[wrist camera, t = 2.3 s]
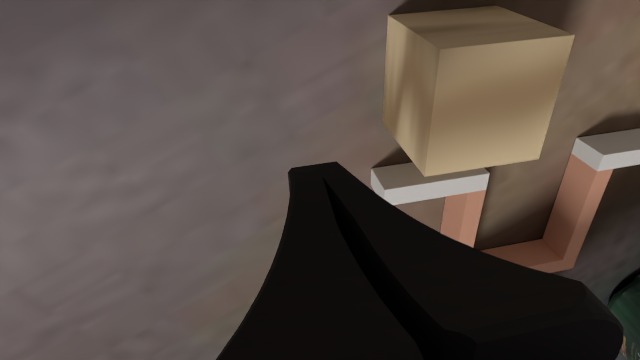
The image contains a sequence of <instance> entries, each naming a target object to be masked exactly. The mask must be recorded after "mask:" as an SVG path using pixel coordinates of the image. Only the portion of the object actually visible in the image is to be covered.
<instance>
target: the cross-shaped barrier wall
mask: <svg viewBox="0 0 640 360" xmlns="http://www.w3.org/2000/svg"><path fill="white" fill-rule="evenodd" d="M639 164H640V128H639V129H632V130H625V131H619V132H612V133H605V134H599V135H592V136H585V137H578V138H576V141H575V144H574V147H573V150H572V153H571V156H570V159H569V162H568V165H567V167H566V170H565V173H564V176H563V179H562V182H561V185H560V188H559V191H558V194H557V197H556V200H555V203H554V206H553V209H552V212H551V215H550V218H549V221H548V224H547V227H546V230H545V233H544V236H543V238H542V239H539V240H533V241H528V242H523V243H518V244H512V245H507V246H502V247H496V248H491V249H486V250H481V251H482V252H485V253H488V254H490V255H493V256H496V257H498V258H501V259H504V260H507V261H510V262H513V263H516V264H519V265H522V266H525V267H528V268H532V269H535V270H539V271H543V272H547V273H553V272H557V271H562V270H567V269H572V268H573V266H574V264H575V261H576V259H577V256H578V254H579V251H580V249H581V247H582V244H583V242H584V239H585V237H586V234H587V232H588V230H589V227H590V225H591V222H592V220H593V217H594V215H595V213H596V210H597V208H598V205H599V203H600V200H601V198H602V195H603V193H604V191H605V188H606V186H607V183H608V181H609V178H610V176H611V174H612V171H613V169H615V168H621V167H627V166H633V165H639ZM489 175H490V173H489V172H488V171H487V170H486V169H485V168H478V169H472V170H465V171H459V172H452V173H446V174H440V175H433V176H427V177H424V176H423V174H422V173H421V172H420V170H419V169H418V168H417V167H416V165H415V164H414V163H413V162H411V163H404V164H398V165H391V166H384V167H378V168H371V186H372V188H373V189H374V191H375V193H376V194H378V195H379V196H380V197H382V198H383V199H385V200H386V201H387V202H389V203H390V204H392V205H397V204H403V203H409V202H415V201H421V200H427V199H433V198H439V197H446V199H445V205H444V212H443V218H442V224H441V231H440V233H441V234H443V235H446V236H448V237H450V238H452V239H454V240H456V241H459V242H461V243H463V244H466V245H468V246H470V247H474V242H475V238H476V233H477V229H478V224H479V220H480V215H481V211H482V206H483V202H484V197H485V193H486V188H487V184H488V179H489Z"/></svg>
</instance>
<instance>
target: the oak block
mask: <svg viewBox="0 0 640 360" xmlns="http://www.w3.org/2000/svg"><path fill="white" fill-rule="evenodd" d="M574 37H575V35H574V34H571V33H569V32H566V31H563V30H561V29H558V28H555V27H553V26H550V25H547V24H545V23H542V22H539V21H537V20H534V19H531V18H529V17H526V16H523V15H521V14H518V13H515V12H512V11H510V10H507V9H504V8H502V7H499V6H485V7H474V8H463V9H452V10H441V11H430V12H419V13H408V14H397V15H388V28H387V47H386V66H385V86H384V105H383V124H384V125H385V127H386V128H387V129H388V131H389V132H390V133H391V134H392V136H393V137H394V138H395V140H396V141H397V142H398V143H399V145H400V146H401V147H402V149H403V150H404V151H405V152H406V154H407V155H408V156H409V158H410V159H411V160H412V161H413V163H414V164H415V165H416V167H417V168H418V169H419V170H420V172H421V173H422V174H423V176H424V177H427V176H433V175H440V174H446V173H452V172H459V171H465V170H472V169H478V168H484V167H491V166H497V165H504V164H510V163H516V162H523V161H529V160H536V159H539V156H540V153H541V149H542V146H543V143H544V139H545V136H546V132H547V129H548V125H549V122H550V119H551V115H552V112H553V108H554V105H555V102H556V98H557V95H558V91H559V88H560V85H561V81H562V78H563V74H564V71H565V68H566V64H567V61H568V57H569V54H570V51H571V47H572V44H573V40H574Z"/></svg>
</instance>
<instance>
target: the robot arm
mask: <svg viewBox="0 0 640 360" xmlns="http://www.w3.org/2000/svg"><path fill="white" fill-rule="evenodd" d="M288 179H289V190H290V199H289V206H288V213H287V218H286V222H285V226H284V230H283V233H282V237H281V240H280V244H279V247H278V249H277V252H276V255H275V258H274V260H273V263H272V265H271V268H270V270H269V272H268V274H267V277H266V279H265V281H264V283H263V285H262V287H261V289H260V291H259V293H258V295H257V297H256V298H255V300H254V302H253V304H252V305H251V307H250V309H249V311H248V312H247V314H246V316H245V318H244V319H243V321H242V323H241V324H240V326H239V327H238V329H237V330H236V332H235V333H234V335H233V336H232V337H231V339H230V340H229V342H228V343H227V345H226V346H225V347H224V349H223V350H222V352H221V353H220V355H219V356H218V357H217V359H216V360H615V359H616V357H617V356H618V354H619V351H620V349H621V347H622V344H623V338H624V328H623V326H622V324H621V323H620V321H619V320H618V318H617V317H616V316H615V315H614V314H613V313H612V312H611V311H610V310H609V309H608V308H607V307H606V306H605V305H604V304H603V303H602V302H601V301H600V300H599V299H598V298H597V297H596V296H595V295H594V294H593V293H592V292H591V291H590V290H589V289H588V288H587V287H586V286H585V285H584V284H583V283H582V282H580V281H577V280H573V279H569V278H565V277H562V276H558V275H554V274H550V273H547V272H543V271H539V270H535V269H532V268H528V267H525V266H522V265H519V264H516V263H513V262H510V261H507V260H504V259H501V258H498V257H496V256H493V255H490V254H488V253H485V252H482V251H480V250H477V249H475V248H473V247H470V246H468V245H466V244H463V243H461V242H459V241H456V240H454V239H452V238H450V237H448V236H446V235H443V234H441V233H439V232H438V231H436V230H434V229H432V228H430V227H428V226H426V225H424V224H423V223H421V222H419V221H417V220H415V219H414V218H412V217H410V216H409V215H407V214H406V213H404V212H403V211H401V210H399V209H398V208H396V207H395V206H393V205H392V204H390V203H389V202H387V201H386V200H385V199H383V198H382V197H380V196H379V195H378V194H376V193H375V192H374V191H372V190H371V189H370V188H368V187H367V186H366V185H365V184H363V183H362V182H361V181H360V180H358V179H357V178H356V177H355V176H353V175H352V174H351V173H350V172H349V171H347V170H346V169H345V168H344V167H343V166H341V165H340V164H339V163H338V162H330V163H323V164H316V165H309V166H302V167H295V168H291V169H290V171H289V172H288Z"/></svg>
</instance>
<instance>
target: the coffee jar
mask: <svg viewBox="0 0 640 360" xmlns="http://www.w3.org/2000/svg"><path fill="white" fill-rule="evenodd" d="M608 309H609V310H610V311H611V312H612V313H613V314H614V315H615V316H616V317H617V318H618V320H619V321H620V323H621V324H622V326H623V328H624V338H623V344H622V347H621V349H620V351H619V353H620V354H621V355H622V356H623V357H624V358H625V359H626V360H640V275H638V276H636V277H635V279H634V280H633V281H632V282H631V283H629V284H628V285H627V286H625V287H624V288H623V289H621V290H620V291H619V292H618V293H616V294H614V295H613V296H612V298H611V299H610V301H609V304H608Z"/></svg>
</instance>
